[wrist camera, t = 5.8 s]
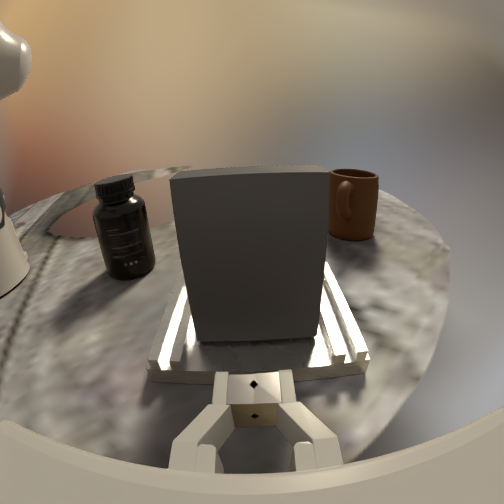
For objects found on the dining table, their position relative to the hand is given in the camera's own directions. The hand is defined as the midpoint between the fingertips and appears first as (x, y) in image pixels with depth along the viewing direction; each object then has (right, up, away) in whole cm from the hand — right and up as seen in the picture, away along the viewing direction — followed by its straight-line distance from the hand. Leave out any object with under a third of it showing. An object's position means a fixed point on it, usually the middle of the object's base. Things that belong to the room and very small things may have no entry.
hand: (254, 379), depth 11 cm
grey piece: (0, 0, +16) cm, 16 cm away
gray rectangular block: (0, 0, +13) cm, 13 cm away
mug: (+14, +7, +31) cm, 34 cm away
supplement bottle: (-16, +3, +25) cm, 29 cm away
